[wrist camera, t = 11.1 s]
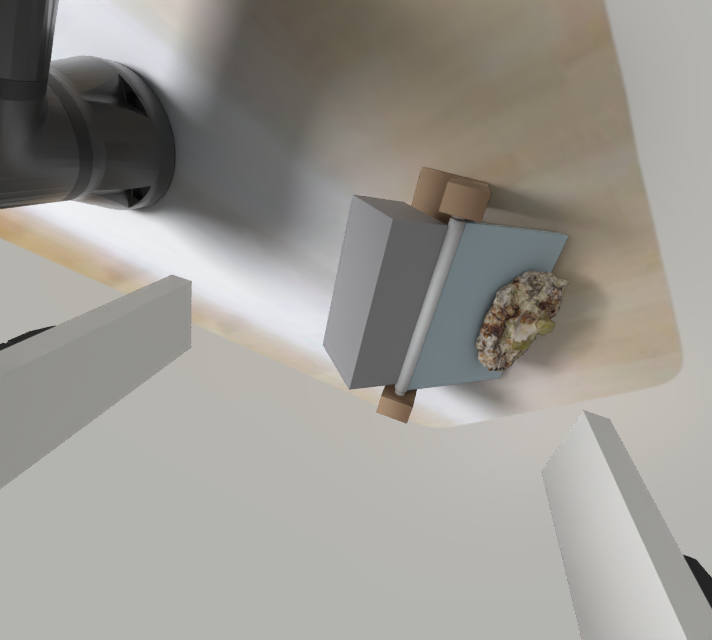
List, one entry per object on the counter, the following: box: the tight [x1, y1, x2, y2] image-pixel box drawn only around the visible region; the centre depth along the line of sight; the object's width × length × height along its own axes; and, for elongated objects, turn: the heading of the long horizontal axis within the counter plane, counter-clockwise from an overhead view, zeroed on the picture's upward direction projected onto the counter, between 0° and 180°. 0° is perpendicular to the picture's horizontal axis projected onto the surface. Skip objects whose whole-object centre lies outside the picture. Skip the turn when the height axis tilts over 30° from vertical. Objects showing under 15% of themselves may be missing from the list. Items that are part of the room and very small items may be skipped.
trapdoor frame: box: [376, 167, 491, 423], centre depth 34 cm, size 6×21×10 cm, turn 168°
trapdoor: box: [323, 195, 569, 392], centre depth 35 cm, size 18×16×8 cm
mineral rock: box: [476, 271, 569, 372], centre depth 34 cm, size 11×4×8 cm
